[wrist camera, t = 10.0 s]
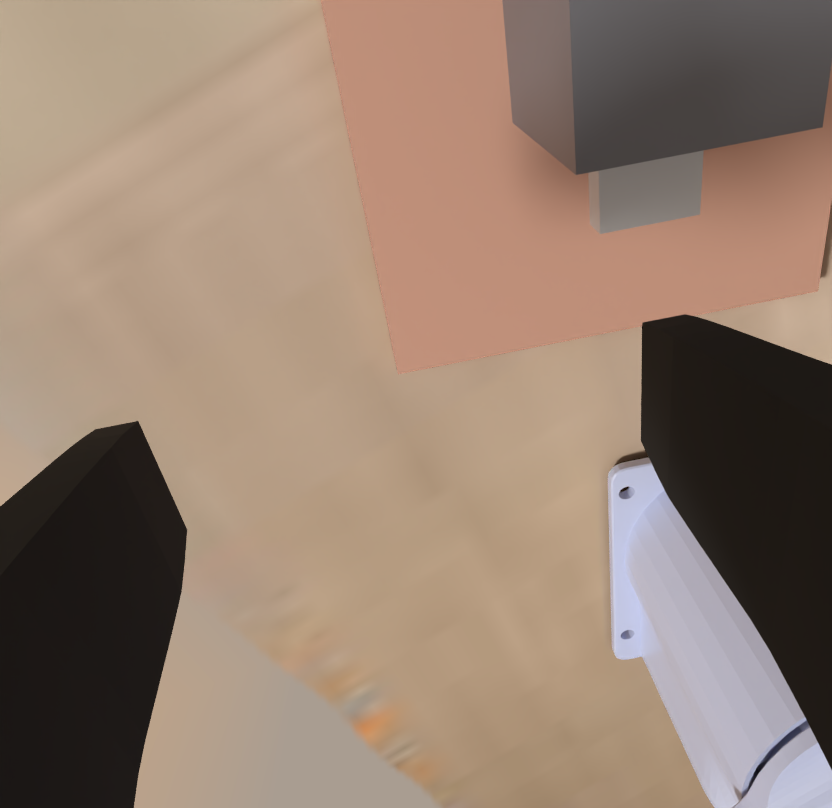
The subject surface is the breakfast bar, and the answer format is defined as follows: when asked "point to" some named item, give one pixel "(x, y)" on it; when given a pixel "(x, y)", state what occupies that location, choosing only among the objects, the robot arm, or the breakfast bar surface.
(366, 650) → the breakfast bar surface
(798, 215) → the rubber mat
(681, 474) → the robot arm
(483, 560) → the breakfast bar surface
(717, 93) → the grey round-top block
